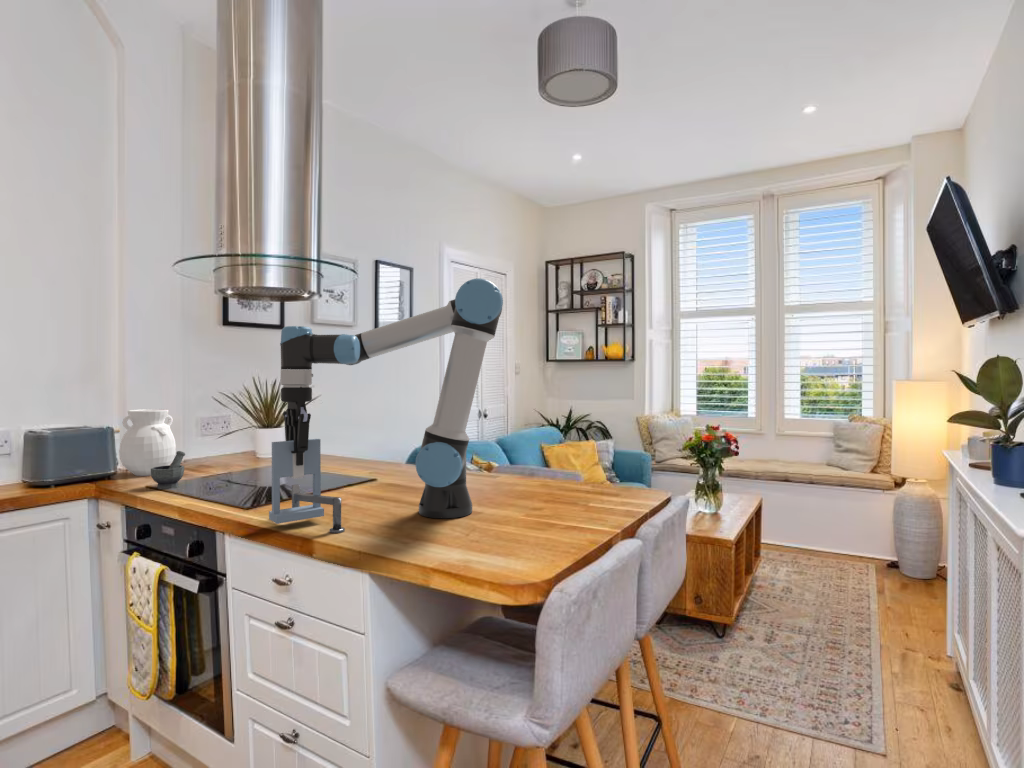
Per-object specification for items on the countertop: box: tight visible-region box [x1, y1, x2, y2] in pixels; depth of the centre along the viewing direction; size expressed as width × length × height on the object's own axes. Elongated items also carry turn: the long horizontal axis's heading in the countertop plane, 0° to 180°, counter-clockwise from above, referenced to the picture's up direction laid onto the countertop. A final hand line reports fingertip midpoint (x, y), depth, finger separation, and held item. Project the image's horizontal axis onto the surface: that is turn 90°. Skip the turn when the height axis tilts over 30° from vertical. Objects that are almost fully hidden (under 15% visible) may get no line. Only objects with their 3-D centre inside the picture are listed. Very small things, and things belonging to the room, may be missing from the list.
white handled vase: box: [118, 408, 177, 477], centre depth 219 cm, size 19×18×25 cm
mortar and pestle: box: [150, 450, 186, 490], centre depth 194 cm, size 11×9×12 cm
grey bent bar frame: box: [291, 484, 346, 534], centre depth 147 cm, size 27×8×8 cm, turn 46°
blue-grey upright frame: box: [268, 438, 325, 524], centre depth 146 cm, size 6×12×20 cm, turn 131°
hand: (296, 477), depth 146 cm, fingers closed on blue-grey upright frame, 1 cm apart
